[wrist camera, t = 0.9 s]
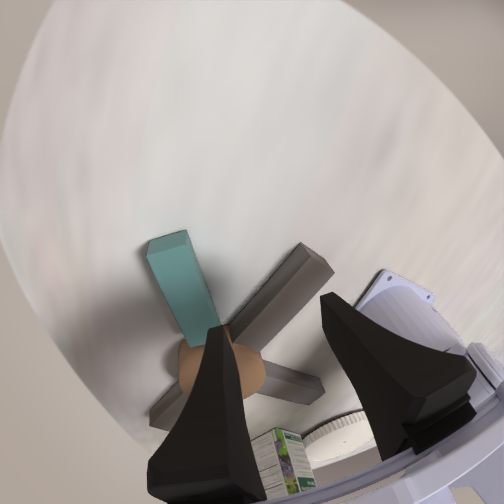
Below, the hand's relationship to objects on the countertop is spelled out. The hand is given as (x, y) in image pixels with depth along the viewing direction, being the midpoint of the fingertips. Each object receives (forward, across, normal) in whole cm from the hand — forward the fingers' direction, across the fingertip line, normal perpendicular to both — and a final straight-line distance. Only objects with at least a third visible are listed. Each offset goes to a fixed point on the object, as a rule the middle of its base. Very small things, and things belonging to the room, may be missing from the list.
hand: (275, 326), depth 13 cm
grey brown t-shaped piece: (+8, +2, +13) cm, 16 cm away
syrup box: (+9, +3, +31) cm, 32 cm away
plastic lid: (+9, -7, +36) cm, 38 cm away
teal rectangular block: (+8, +5, +2) cm, 10 cm away
